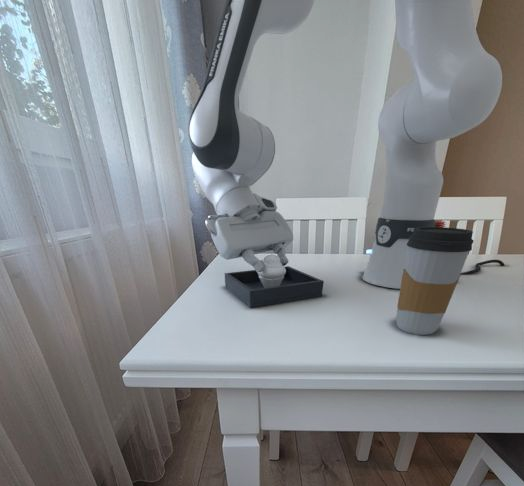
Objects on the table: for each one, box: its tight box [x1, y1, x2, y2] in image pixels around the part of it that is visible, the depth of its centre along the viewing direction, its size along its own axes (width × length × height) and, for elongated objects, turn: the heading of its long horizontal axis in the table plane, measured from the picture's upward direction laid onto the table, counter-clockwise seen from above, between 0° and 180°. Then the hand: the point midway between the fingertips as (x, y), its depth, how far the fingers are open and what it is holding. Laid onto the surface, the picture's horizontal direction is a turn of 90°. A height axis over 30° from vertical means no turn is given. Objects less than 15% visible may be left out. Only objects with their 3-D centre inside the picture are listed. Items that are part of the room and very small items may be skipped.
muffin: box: [258, 253, 286, 288], centre depth 63 cm, size 6×6×7 cm
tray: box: [224, 265, 324, 308], centre depth 64 cm, size 17×15×3 cm
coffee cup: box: [395, 226, 475, 336], centre depth 45 cm, size 8×8×15 cm
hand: (274, 267), depth 62 cm, fingers closed on muffin, 6 cm apart
